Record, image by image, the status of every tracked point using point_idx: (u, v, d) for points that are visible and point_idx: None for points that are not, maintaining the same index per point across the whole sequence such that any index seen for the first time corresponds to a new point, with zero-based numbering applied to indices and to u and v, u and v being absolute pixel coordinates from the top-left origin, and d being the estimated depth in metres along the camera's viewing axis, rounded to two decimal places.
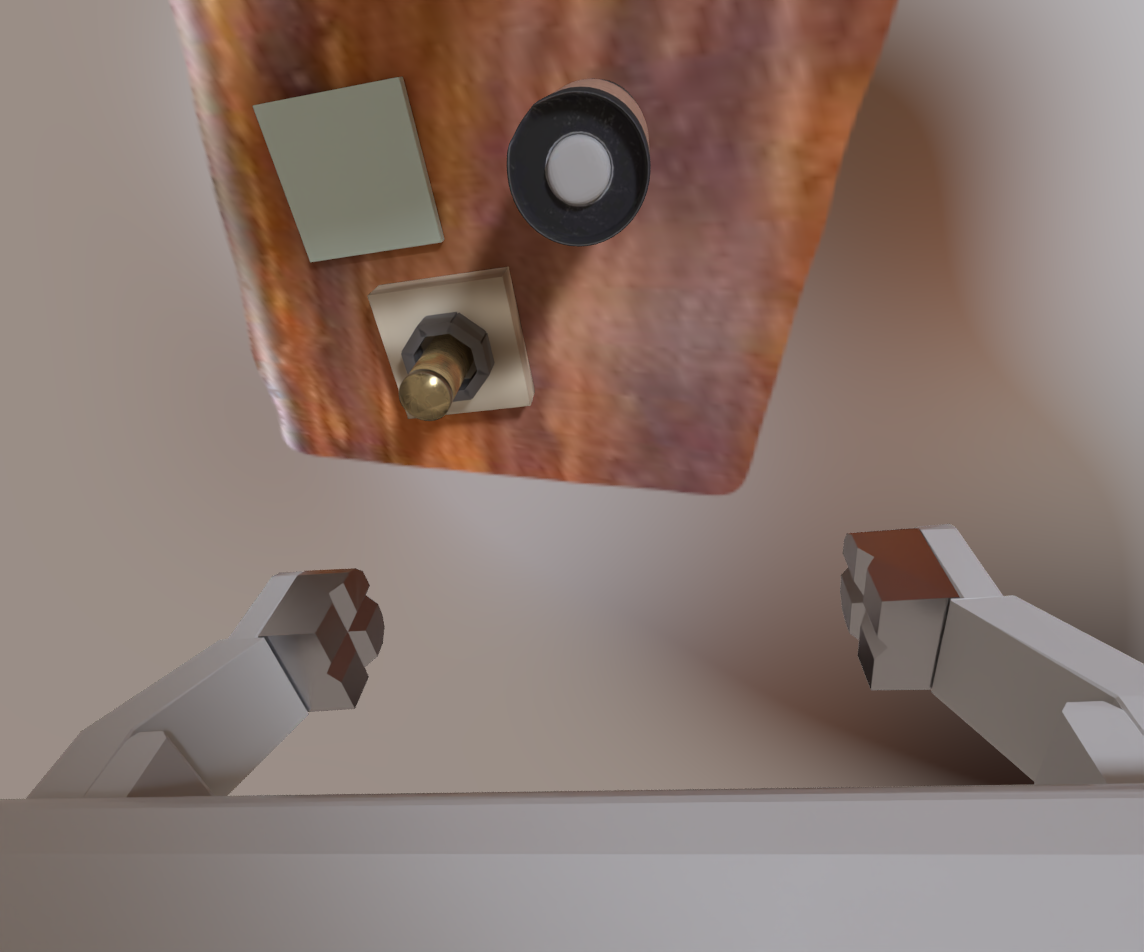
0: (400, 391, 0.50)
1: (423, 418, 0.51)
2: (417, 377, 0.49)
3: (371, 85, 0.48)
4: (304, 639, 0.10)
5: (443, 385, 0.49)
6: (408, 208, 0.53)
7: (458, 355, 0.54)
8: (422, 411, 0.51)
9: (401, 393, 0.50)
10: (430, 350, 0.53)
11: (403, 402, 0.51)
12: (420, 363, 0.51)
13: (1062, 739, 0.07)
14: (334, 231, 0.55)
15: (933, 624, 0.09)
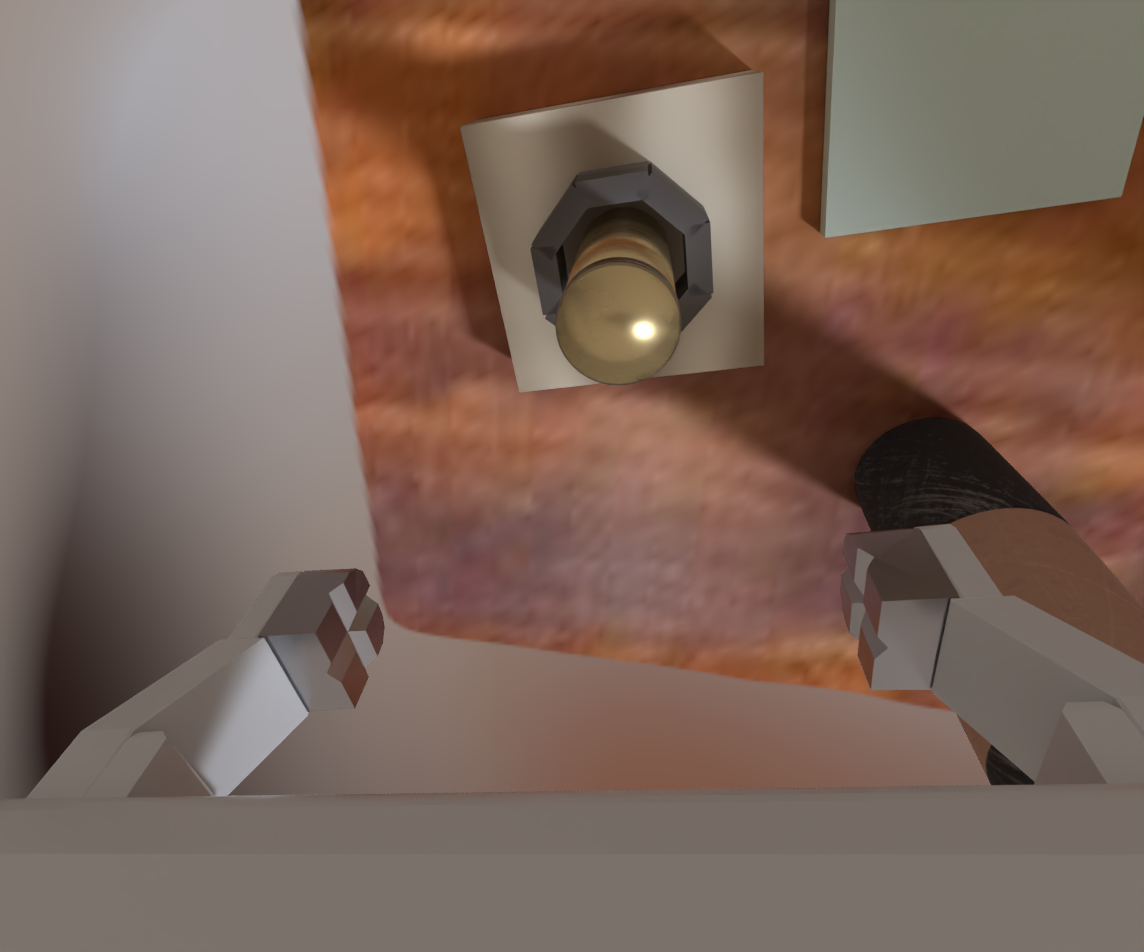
0: (634, 270, 0.20)
1: (561, 316, 0.21)
2: (671, 318, 0.21)
3: (1132, 138, 0.26)
4: (304, 640, 0.10)
5: (647, 373, 0.22)
6: (900, 179, 0.28)
7: None
8: (581, 315, 0.21)
9: (629, 272, 0.20)
10: None
11: (603, 272, 0.20)
12: (674, 286, 0.22)
13: (1062, 739, 0.07)
14: None
15: (933, 624, 0.09)
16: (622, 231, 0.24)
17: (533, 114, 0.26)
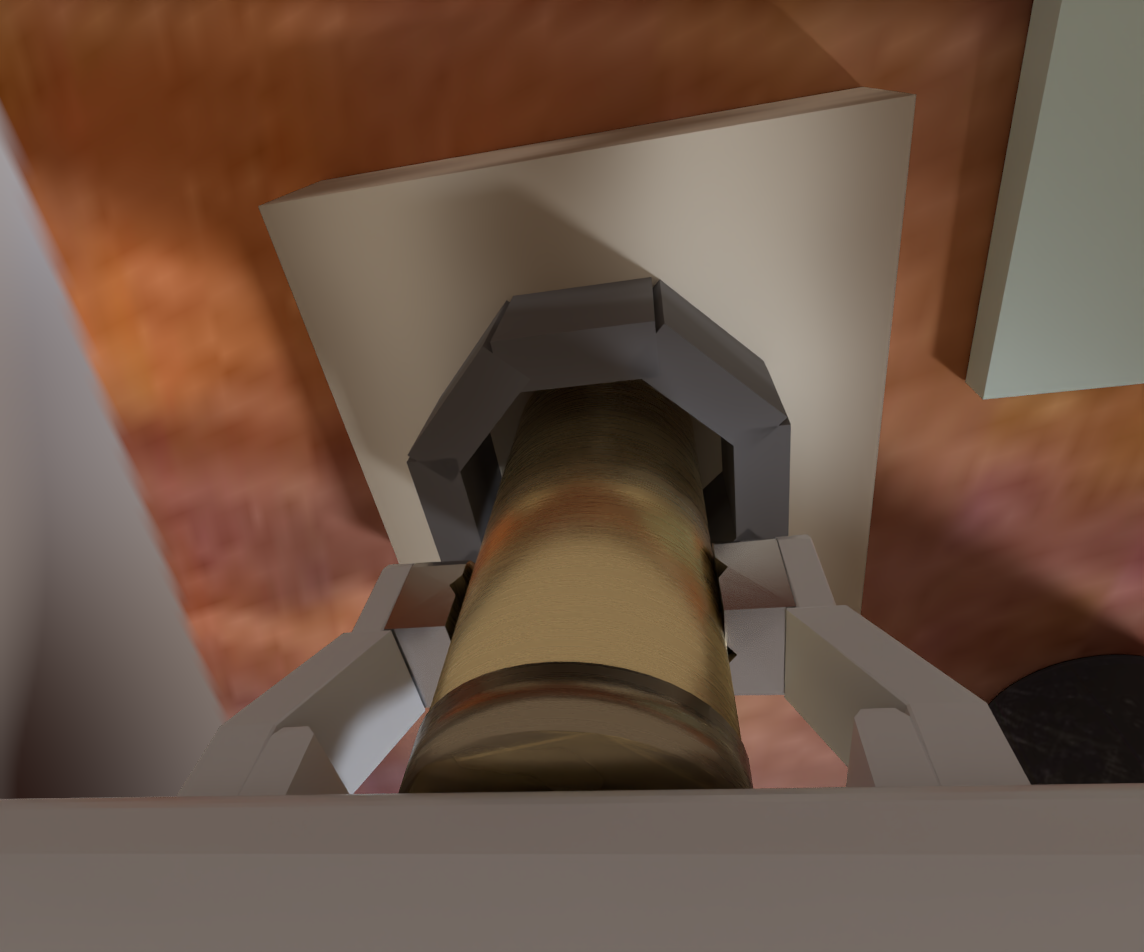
0: (619, 742, 0.06)
1: None
2: None
3: None
4: (432, 632, 0.09)
5: None
6: None
7: None
8: None
9: (603, 746, 0.06)
10: (709, 540, 0.11)
11: (524, 742, 0.06)
12: (726, 655, 0.09)
13: (855, 744, 0.07)
14: None
15: (775, 632, 0.09)
16: (595, 475, 0.10)
17: (408, 183, 0.12)
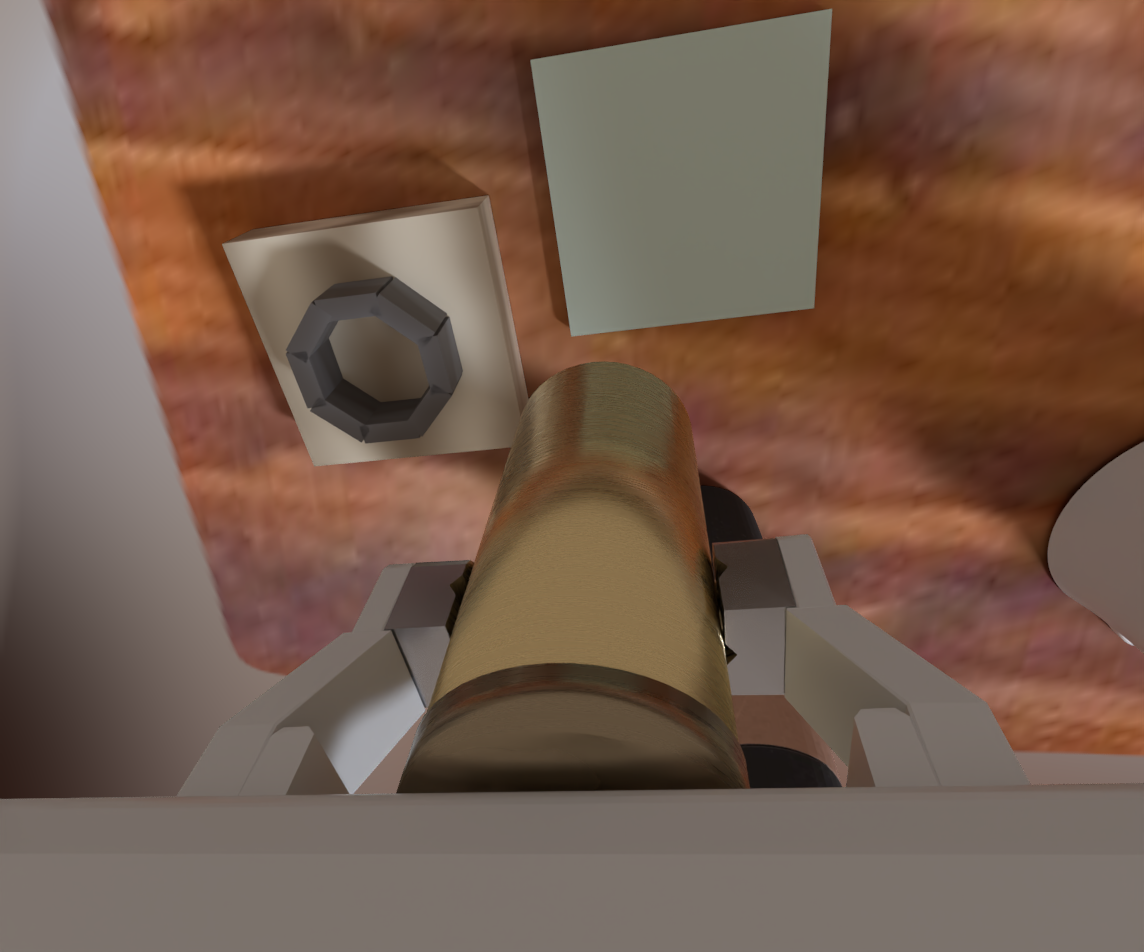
0: (616, 743, 0.06)
1: None
2: None
3: (813, 261, 0.30)
4: (432, 632, 0.09)
5: None
6: (626, 290, 0.32)
7: None
8: None
9: (599, 747, 0.06)
10: (708, 541, 0.11)
11: (521, 743, 0.06)
12: (724, 657, 0.09)
13: (855, 744, 0.07)
14: (591, 135, 0.28)
15: (775, 632, 0.09)
16: (593, 476, 0.10)
17: (285, 235, 0.29)
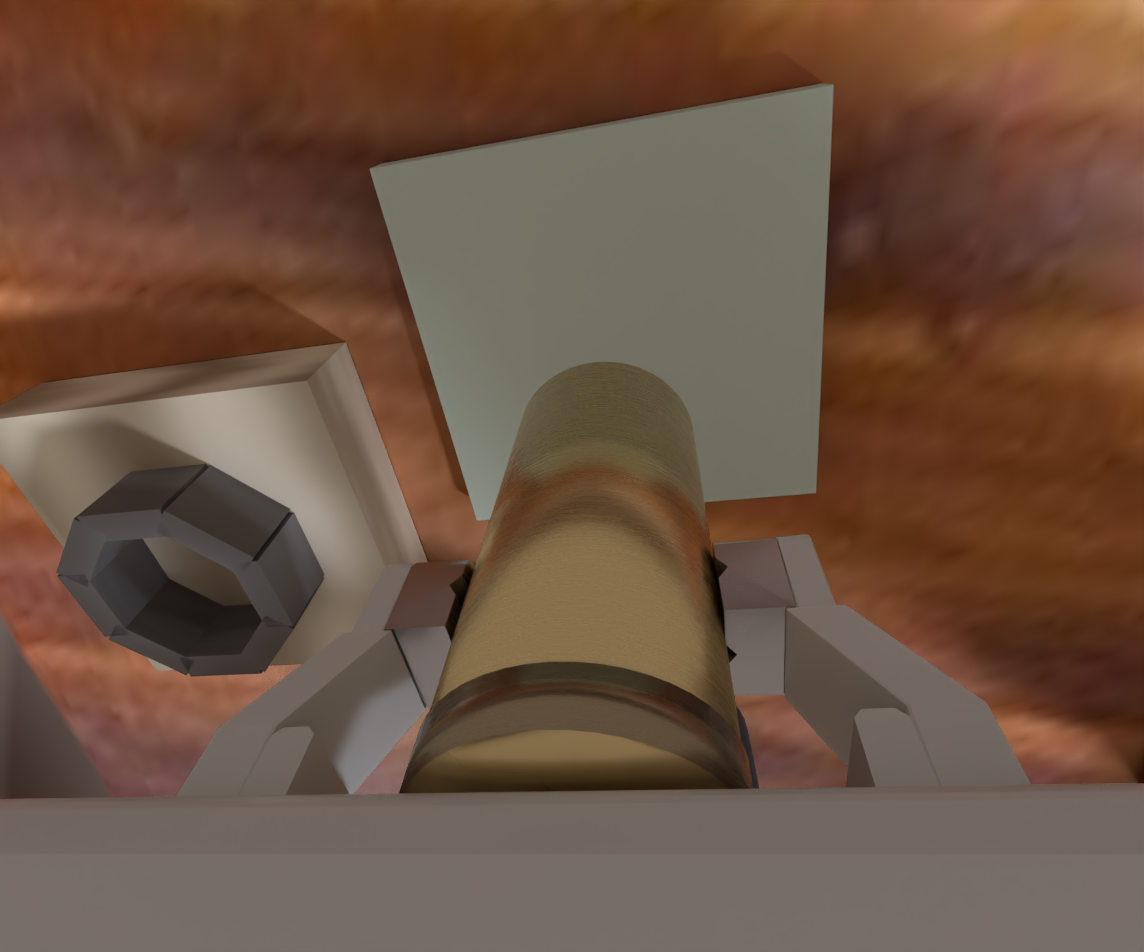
0: (620, 741, 0.06)
1: None
2: None
3: (813, 435, 0.21)
4: (432, 632, 0.09)
5: None
6: None
7: None
8: None
9: (603, 746, 0.06)
10: (710, 541, 0.11)
11: (524, 741, 0.06)
12: (726, 656, 0.09)
13: (855, 744, 0.07)
14: (473, 271, 0.19)
15: (775, 632, 0.09)
16: (595, 476, 0.10)
17: (50, 413, 0.20)
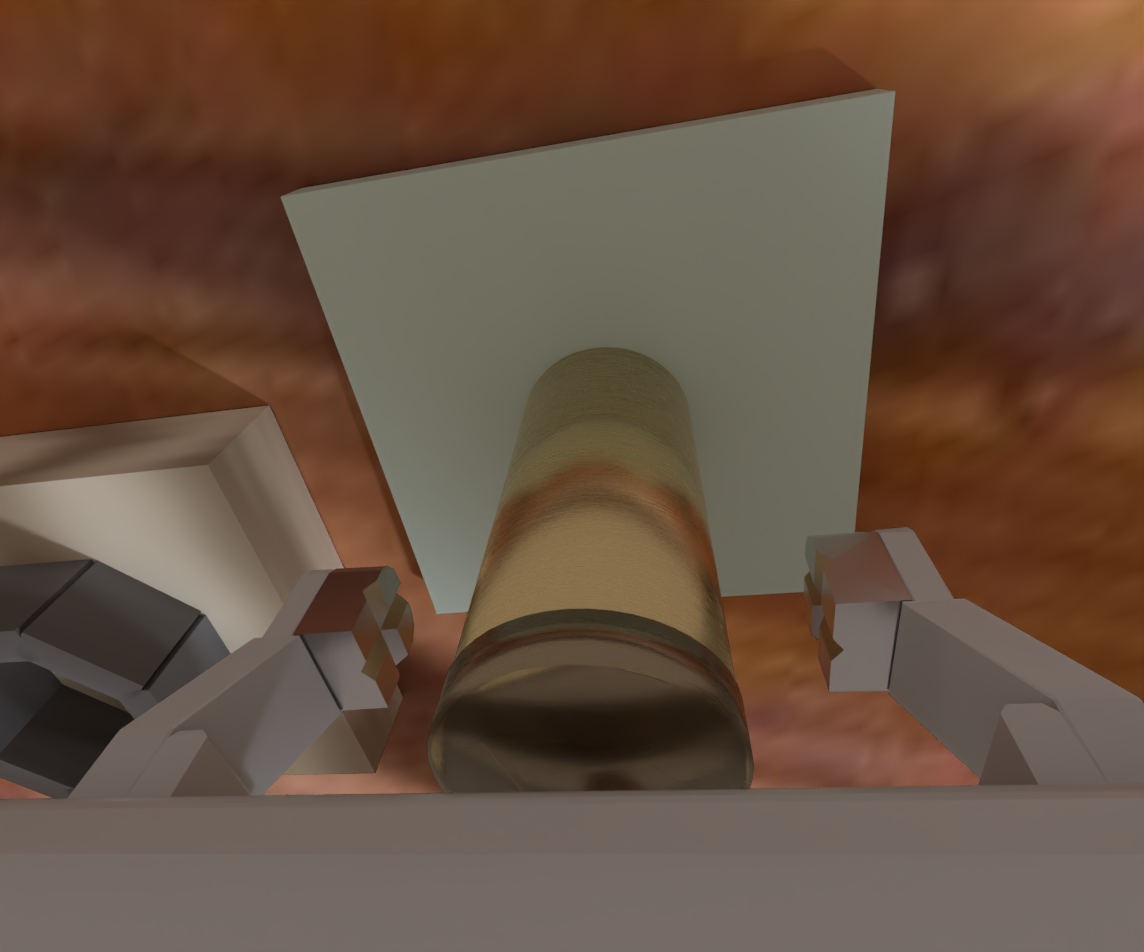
0: (629, 674, 0.07)
1: (440, 746, 0.08)
2: (726, 763, 0.08)
3: (848, 524, 0.17)
4: (339, 638, 0.10)
5: None
6: None
7: None
8: (492, 748, 0.08)
9: (614, 678, 0.07)
10: (706, 511, 0.12)
11: (544, 676, 0.07)
12: (722, 611, 0.10)
13: (1001, 741, 0.07)
14: (421, 326, 0.15)
15: (887, 626, 0.09)
16: (601, 450, 0.11)
17: None
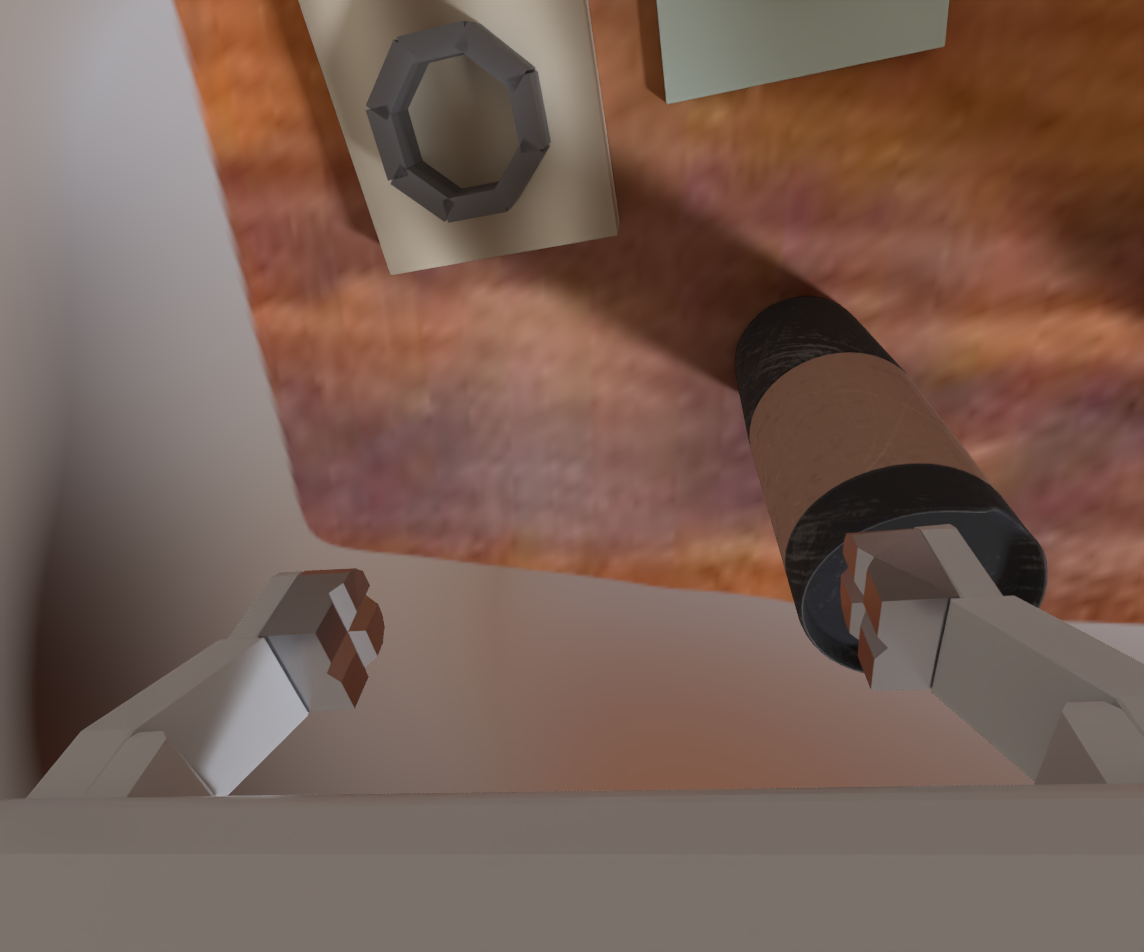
0: None
1: None
2: None
3: None
4: (304, 640, 0.10)
5: None
6: (729, 38, 0.29)
7: None
8: None
9: None
10: None
11: None
12: None
13: (1062, 739, 0.07)
14: None
15: (933, 624, 0.09)
16: None
17: None
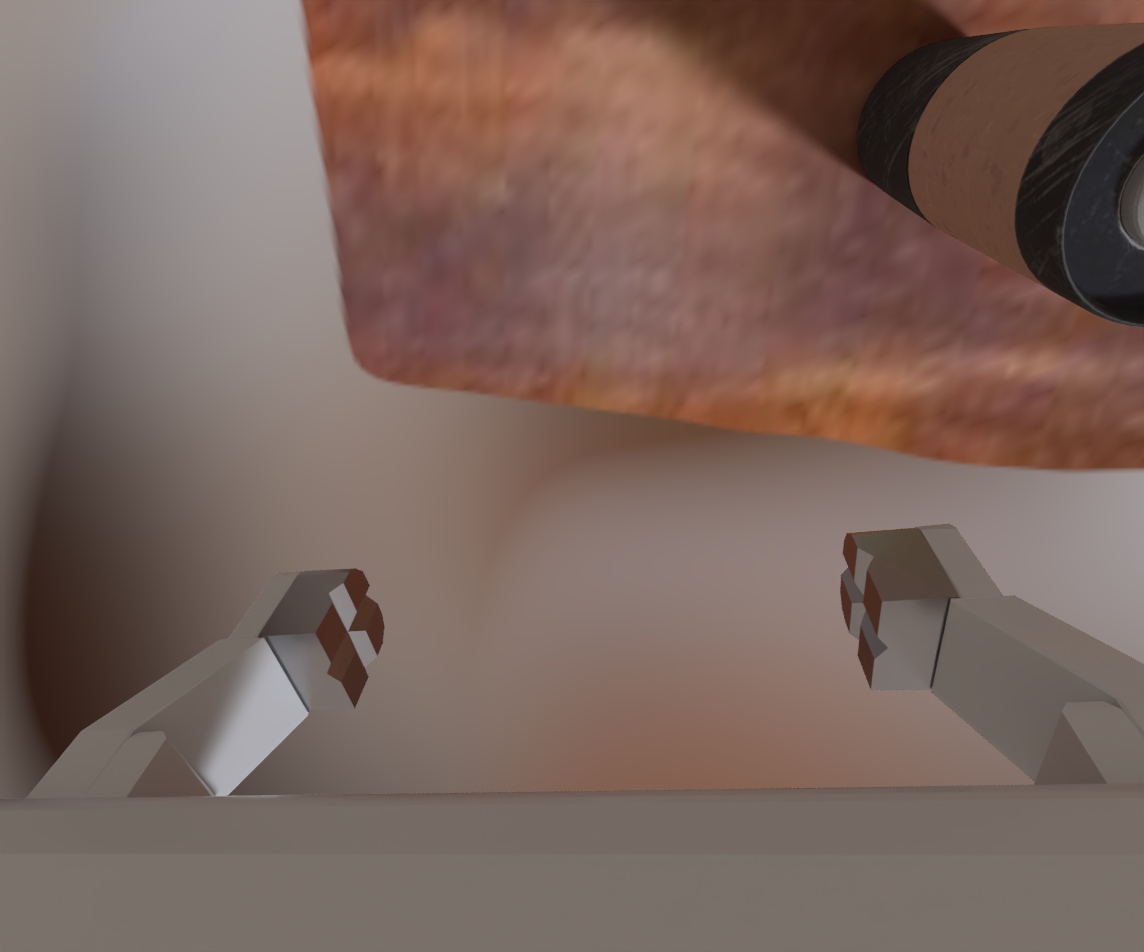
0: None
1: None
2: None
3: None
4: (304, 640, 0.10)
5: None
6: None
7: None
8: None
9: None
10: None
11: None
12: None
13: (1062, 739, 0.07)
14: None
15: (933, 624, 0.09)
16: None
17: None
